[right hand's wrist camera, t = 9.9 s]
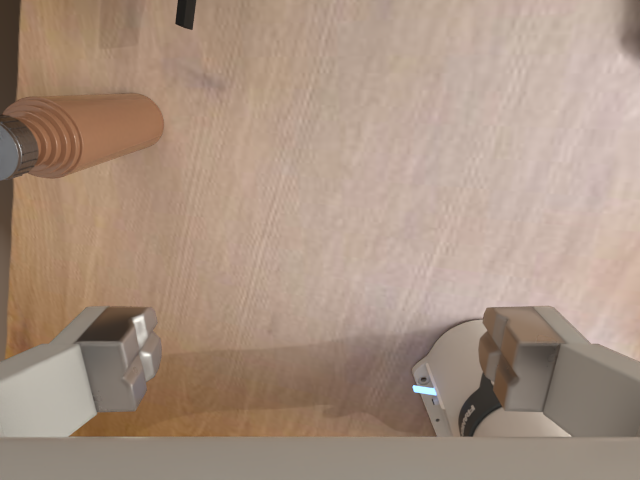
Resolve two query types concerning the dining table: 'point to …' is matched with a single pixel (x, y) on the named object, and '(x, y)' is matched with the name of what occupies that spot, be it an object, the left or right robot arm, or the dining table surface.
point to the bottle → (87, 129)
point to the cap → (16, 148)
